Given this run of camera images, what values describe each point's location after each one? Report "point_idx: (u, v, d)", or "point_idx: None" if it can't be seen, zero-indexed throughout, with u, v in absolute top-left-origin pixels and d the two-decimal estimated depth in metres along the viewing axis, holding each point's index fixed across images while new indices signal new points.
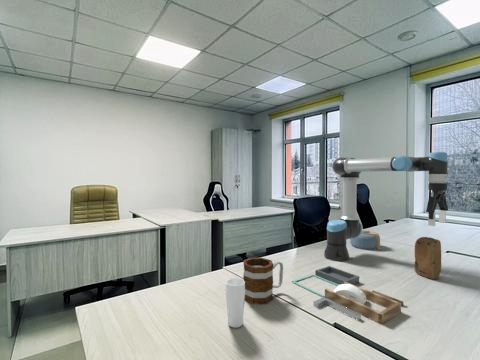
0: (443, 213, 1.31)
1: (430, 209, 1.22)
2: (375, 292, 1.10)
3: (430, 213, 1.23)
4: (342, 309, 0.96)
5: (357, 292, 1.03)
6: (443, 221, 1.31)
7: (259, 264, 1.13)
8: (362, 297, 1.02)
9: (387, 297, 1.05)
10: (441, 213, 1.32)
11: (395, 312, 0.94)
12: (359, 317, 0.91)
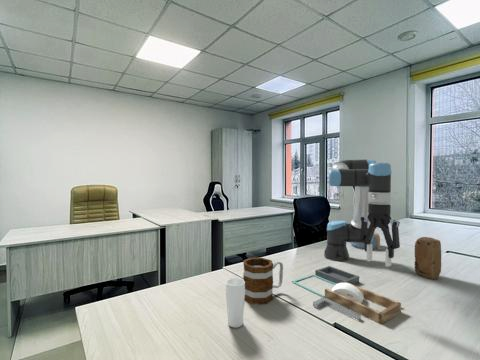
0: None
1: None
2: None
3: None
4: (342, 309, 0.96)
5: (354, 291, 1.04)
6: None
7: (259, 264, 1.13)
8: (359, 296, 1.03)
9: None
10: None
11: (395, 312, 0.94)
12: (359, 317, 0.91)
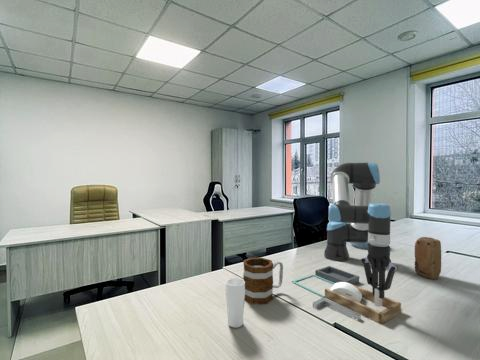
0: None
1: None
2: None
3: None
4: (341, 309, 0.96)
5: (353, 290, 1.05)
6: None
7: (259, 264, 1.13)
8: (358, 295, 1.04)
9: None
10: None
11: (395, 312, 0.94)
12: (359, 317, 0.91)
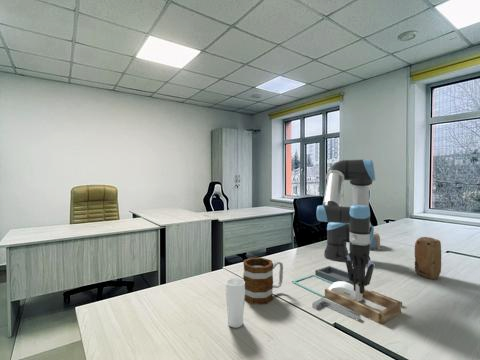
0: None
1: None
2: None
3: None
4: (341, 310, 0.96)
5: (352, 289, 1.06)
6: None
7: (259, 264, 1.13)
8: None
9: None
10: None
11: (395, 312, 0.94)
12: (359, 317, 0.91)
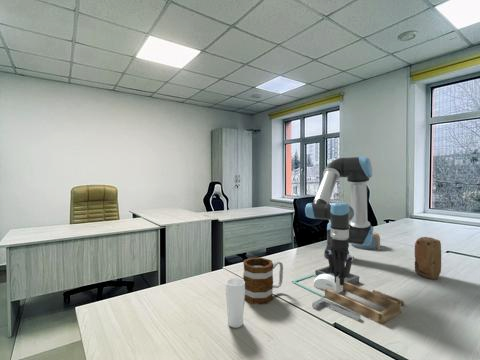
0: None
1: None
2: (376, 291, 1.10)
3: None
4: (341, 310, 0.96)
5: (333, 281, 1.14)
6: None
7: (259, 264, 1.13)
8: None
9: (388, 296, 1.06)
10: None
11: (395, 312, 0.94)
12: (359, 317, 0.91)
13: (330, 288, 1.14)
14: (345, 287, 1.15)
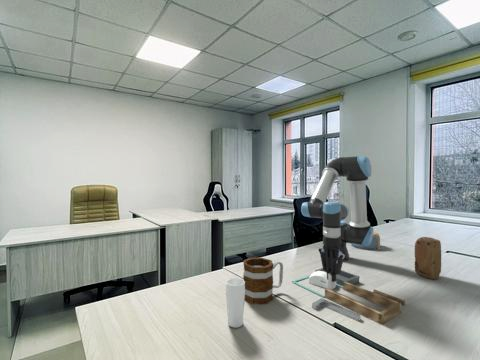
0: None
1: None
2: (378, 291, 1.11)
3: None
4: (341, 310, 0.95)
5: None
6: None
7: (259, 264, 1.13)
8: None
9: (390, 295, 1.07)
10: None
11: (395, 312, 0.94)
12: (359, 317, 0.91)
13: (324, 285, 1.17)
14: (345, 287, 1.15)
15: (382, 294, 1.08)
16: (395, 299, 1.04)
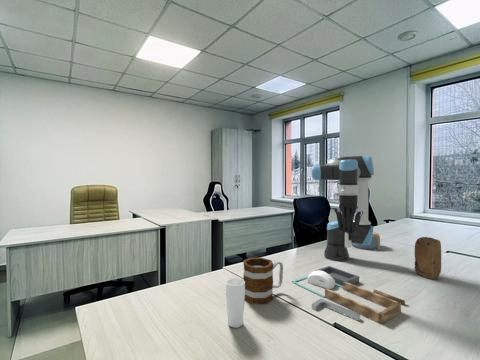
0: None
1: None
2: (378, 291, 1.11)
3: None
4: (341, 310, 0.95)
5: (326, 277, 1.18)
6: None
7: (259, 264, 1.13)
8: (330, 282, 1.17)
9: (390, 295, 1.07)
10: None
11: (395, 312, 0.94)
12: (359, 317, 0.91)
13: (322, 284, 1.18)
14: (345, 287, 1.15)
15: (382, 294, 1.08)
16: (395, 299, 1.04)
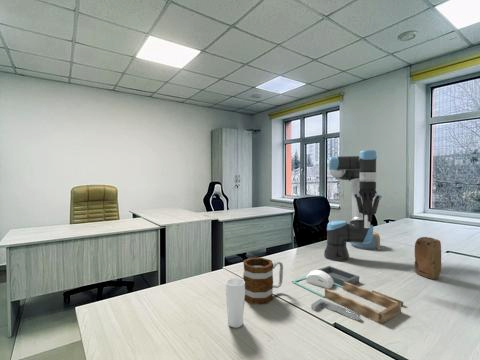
0: None
1: None
2: None
3: None
4: (341, 310, 0.95)
5: (324, 277, 1.19)
6: None
7: (259, 264, 1.13)
8: (328, 281, 1.17)
9: None
10: None
11: (395, 312, 0.94)
12: (359, 317, 0.91)
13: (321, 283, 1.19)
14: (345, 287, 1.15)
15: None
16: None
